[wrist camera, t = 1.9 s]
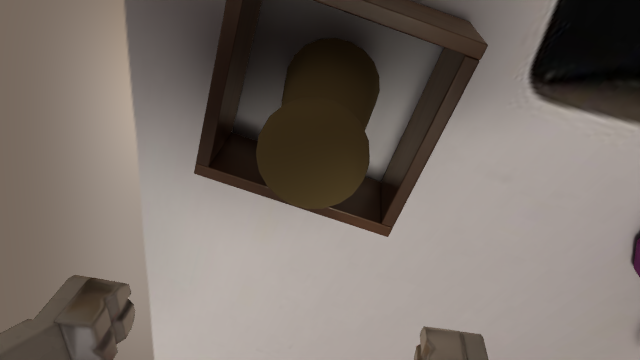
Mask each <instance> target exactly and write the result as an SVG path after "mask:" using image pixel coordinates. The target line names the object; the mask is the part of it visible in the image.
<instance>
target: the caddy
mask: <svg viewBox="0 0 640 360" xmlns="http://www.w3.org/2000/svg"><path fill="white" fill-rule="evenodd" d="M314 1H316V2H319V3H322V4H325V5H328V6H330V7H333V8H336V9H339V10H341V11H344V12H347V13H350V14H353V15H355V16H358V17H361V18H364V19H366V20H369V21H372V22H375V23H378V24H380V25H383V26H386V27H389V28H392V29H394V30H397V31H400V32H403V33H405V34H408V35H411V36H414V37H417V38H419V39H422V40H425V41H428V42H430V43H433V44H436V45H439V46H442V47H444V49H443V51H442V53H441V55H440V57H439V60H438V62H437V64H436V66H435V68H434V70H433V72H432V75H431V77H430V79H429V81H428V83H427V85H426V87H425V89H424V92H423V94H422V96H421V98H420V100H419V102H418V104H417V107H416V109H415V111H414V113H413V115H412V117H411V119H410V121H409V124H408V126H407V128H406V130H405V132H404V134H403V136H402V139H401V141H400V143H399V145H398V147H397V149H396V151H395V153H394V156H393V158H392V160H391V162H390V164H389V166H388V168H387V170H386V173H385V175H384V177H383V179H382V181H381V182H379V181H376V180H373V179H370V178H367V177H365V178H364V180H363V181H362V183H361V184H360V186H359V187H358V188H357V190H356V191H355V192H354V193H353V195H351V196H350V197H348V198H347V199H345V200H344V201H342V202H341V203H339V204H336V205H333V206H329V207H326V208H322V209H306V208H302V207H298V206H295V207H298V208H301V209H304V210H307V211H310V212H313V213H316V214H319V215H322V216H325V217H328V218H331V219H335V220H338V221H341V222H344V223H347V224H350V225H353V226H356V227H359V228H362V229H365V230H368V231H371V232H374V233H377V234H380V235H383V236H386V237H388V236H389V234H390V232H391V230H392V228H393V226H394V224H395V222H396V220H397V218H398V217H399V215H400V213H401V211H402V209H403V207H404V205H405V203H406V201H407V199H408V197H409V195H410V194H411V192H412V190H413V188H414V186H415V184H416V182H417V180H418V178H419V176H420V174H421V172H422V171H423V169H424V167H425V165H426V163H427V161H428V159H429V157H430V155H431V153H432V151H433V149H434V148H435V146H436V144H437V142H438V140H439V138H440V136H441V134H442V132H443V130H444V128H445V126H446V125H447V123H448V121H449V119H450V117H451V115H452V113H453V111H454V109H455V107H456V105H457V103H458V102H459V100H460V98H461V96H462V94H463V92H464V90H465V88H466V86H467V84H468V82H469V80H470V79H471V77H472V75H473V73H474V71H475V69H476V67H477V65H478V63H479V60H480V59H481V58H482V56H483V54H484V52H485V50H486V48H487V46H488V45H487V43H486V42H485V41H484V39H483V38H482V37H481V36H480V34H479V33H478V32H477V30H476V29H475V28H474V27H473V25H472V24H471V23H470V22H468V21H465V20H463V19H460V18H457V17H454V16H452V15H449V14H446V13H443V12H441V11H438V10H435V9H432V8H430V7H427V6H424V5H421V4H419V3H416V2H413V1H410V0H314ZM261 4H262V0H226V5H225V11H224V16H223V21H222V27H221V32H220V37H219V43H218V48H217V53H216V59H215V64H214V69H213V75H212V80H211V85H210V91H209V96H208V101H207V107H206V112H205V117H204V123H203V128H202V134H201V139H200V144H199V150H198V155H197V160H196V166H195V171H194V173H195V174H197V175H200V176H203V177H207V178H210V179H213V180H216V181H219V182H222V183H225V184H228V185H231V186H234V187H237V188H240V189H243V190H246V191H249V192H252V193H255V194H258V195H261V196H264V197H267V198H271V199H274V200H277V201H280V202H283V203H286V204H289V203H288V202H286V201H284V200H282V199H280V198H279V197H278V196H277V195H276V194H275V193H274V192H273V191H272V190H271V189H270V188H269V187H268V186H267V185H266V183H265V181H264V179H263V178H262V176H261V174H260V172H259V168H258V163H257V158H256V149H257V143H258V141H257V140H254V139H251V138H248V137H245V136H242V135H239V134H236V133H233V132H232V130H233V126H234V122H235V117H236V113H237V108H238V104H239V100H240V95H241V91H242V87H243V82H244V78H245V74H246V69H247V65H248V61H249V56H250V52H251V47H252V43H253V39H254V34H255V30H256V26H257V21H258V17H259V13H260V8H261ZM289 205H291V204H289ZM292 206H294V205H292Z"/></svg>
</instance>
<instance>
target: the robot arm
mask: <svg viewBox="0 0 640 360" xmlns="http://www.w3.org/2000/svg"><path fill="white" fill-rule="evenodd" d="M130 294H131V290H130V286H129V284H125V283H120V282H115V281H109V280H103V279H97V278H90V277H84V276H78V275H74V276H72V277H70V278H69V279H68V280H67V281H66V282H65V283H64V284H63V285H62V287H61V288H60V289H59V290H58V291H57V292H56V294H55V295H54V296H53V297H52V298H51V300H50V301H49V302H48V303H47V304H46V306H45V307H44V308H43V309H42V310H41V311H40V312H39V314H38V315H37V316H36V317H35V318H34V319H33V320H32V319H27V320H25V321H23V322H21V323H19V324H17V325H15V326H13V327H11V328H9V329H8V330H6V331H4V332H2V333H0V360H113V359H114V358H115V356H116V354H117V353H118V350H117V345H116V344H118V343H119V342H121V341H122V340H124V339H126V337H127V336H128V334H129V332H130V330H131V328H132V325H133V322H134V316H135V309H134V304H133V303H132V302H131V301H130V300H129V299H128V297H129V296H130ZM414 360H488V356H487V352H486V347H485V343H484V339H483V337H482V336H481V334H475V333H468V332H460V331H455V330H447V329H440V328H432V327H425V326H424V327H423V328H422V330H421V333H420V345H418V346H417V347H416V351H415V355H414Z"/></svg>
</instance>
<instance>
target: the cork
mask: <svg viewBox="0 0 640 360" xmlns="http://www.w3.org/2000/svg"><path fill="white" fill-rule="evenodd" d="M378 94H379V75H378V72H377V70H376V67H375V64H374V62H373V61H372V59H371V58H370V57H369V56H368V54H367V53H366V52H365V51H364V50H363V49H361V48H360V47H358V46H357V45H355V44H354V43H352V42H350V41H346V40H342V39H338V38H327V39H319V40H317V41H314V42H312V43H309V44H307V45H305V46H304V47H303V48H302V49H301V50H300V51H299V52H297V53H296V54H295V55H294V57H293V59H292V61H291V63H290V64H289V66H288V69H287V74H286V80H285V86H284V92H283V98H282V104H281V107H280V108H279V109H278V110H277V111H275V112H274V113H273V114H272V115H271V116H270V117H269V118H268V120H267V122H266V124H265V125H264V127H263V129H262V131H261V132H260V134H259V137H258V143H257V149H256V158H257V163H258V168H259V172H260V174H261V176H262V178H263V179H264V181H265V183H266V185H267V186H268V187H269V188H270V189H271V190H272V191H273V192H274V193H275V194H276V195H277V196H278V197H279V198H280V199H282V200H284V201H286V202H288V203H289V204H291V205H294V206H298V207H302V208H306V209H322V208H326V207H329V206H333V205H336V204H339V203H341V202H342V201H344V200H345V199H347V198H348V197H350V196H351V195H353V193H354V192H355V191H356V190H357V188H358V187H359V186H360V184H361V183H362V181H363V180H364V178H365V175H366V172H367V169H368V166H369V141H368V138H367V136H366V133H365V129H366V126H367V124H368V121H369V119H370V116H371V114H372V111H373V109H374V106H375V104H376V100H377V97H378Z"/></svg>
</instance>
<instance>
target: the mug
mask: <svg viewBox="0 0 640 360" xmlns="http://www.w3.org/2000/svg"><path fill="white" fill-rule="evenodd" d="M634 269H635V271H636V272H637V274H638V275H639V277H640V238H639V240H638V241H637V244H636V252H635V260H634Z"/></svg>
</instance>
